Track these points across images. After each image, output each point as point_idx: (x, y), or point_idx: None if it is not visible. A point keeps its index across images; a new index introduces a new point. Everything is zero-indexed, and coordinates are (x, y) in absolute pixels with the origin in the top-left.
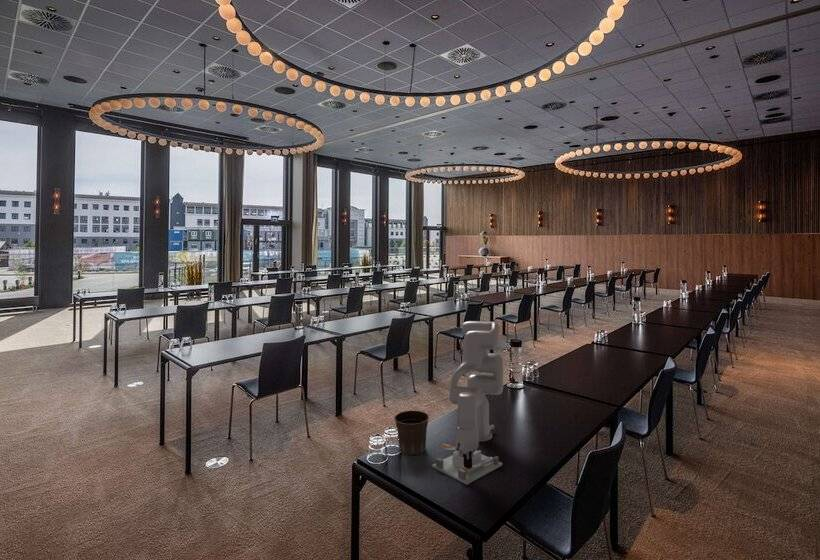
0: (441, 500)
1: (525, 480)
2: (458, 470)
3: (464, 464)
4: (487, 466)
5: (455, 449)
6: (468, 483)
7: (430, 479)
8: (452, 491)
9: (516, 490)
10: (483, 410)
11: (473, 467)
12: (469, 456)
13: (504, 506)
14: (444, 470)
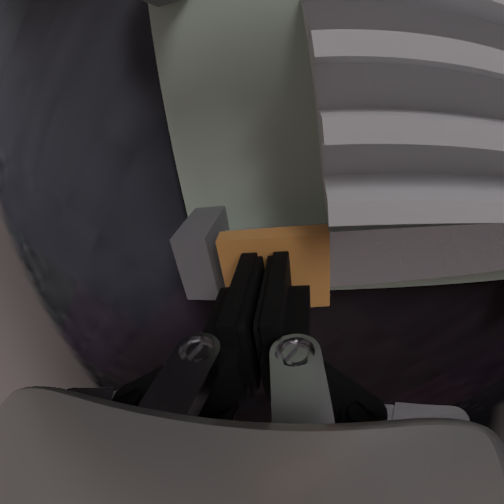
0: (49, 287)
1: (459, 397)
2: (172, 241)
3: (220, 298)
4: None
5: (7, 408)
6: None
7: (53, 93)
8: (107, 273)
9: None
10: None
11: (325, 300)
12: (266, 395)
13: None
14: (162, 49)
